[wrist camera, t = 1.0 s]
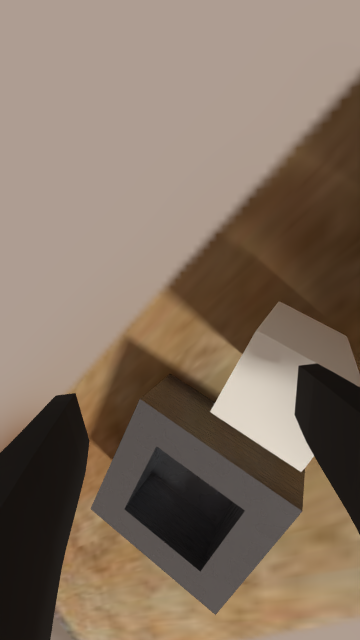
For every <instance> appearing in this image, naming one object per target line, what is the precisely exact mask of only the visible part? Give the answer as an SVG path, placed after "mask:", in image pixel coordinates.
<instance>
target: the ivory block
mask: <svg viewBox="0 0 360 640" xmlns="http://www.w3.org/2000/svg"><path fill="white" fill-rule="evenodd" d="M316 363H317V364H319V365H321V366H323V367H325V368H327V369H329V370H331V371H332V372H334V373H336V374H338V375H339V376H341V377H343V378H345V379H346V380H348V381H350V382H352V383H353V384H355V385H357V386H359V387H360V373H359V370H358V367H357V364H356V361H355V359H354V356H353V353H352V350H351V347H350V344H349V341H348V338H347V336H346V335H344V334H342V333H340V332H338V331H336V330H334V329H332V328H330V327H328V326H326V325H324V324H322V323H321V322H319V321H317V320H315V319H313V318H311V317H309V316H307V315H305V314H303V313H301V312H299V311H297V310H295V309H293V308H292V307H290V306H288V305H286V304H284V303H282V302H280V301H279V302H278V303H277V304H276V305H275V307H274V308H273V309H272V311H271V312H270V313H269V314H268V316H267V317H266V318H265V320H264V321H263V322H262V323H261V325H260V326H259V327H258V329H257V330H256V332H255V333H254V335H253V337H252V339H251V340H250V342H249V344H248V346H247V348H246V349H245V351H244V353H243V355H242V356H241V358H240V360H239V362H238V363H237V365H236V367H235V369H234V370H233V372H232V374H231V376H230V378H229V379H228V381H227V383H226V385H225V386H224V388H223V390H222V392H221V393H220V395H219V397H218V399H217V400H216V402H215V404H214V406H213V408H212V409H211V411H210V412H211V413H212V414H214V415H215V416H217V417H218V418H220V419H221V420H223V421H224V422H226V423H227V424H229V425H230V426H232V427H234V428H235V429H237V430H238V431H240V432H241V433H243V434H244V435H246V436H247V437H249V438H250V439H252V440H253V441H255V442H256V443H258V444H259V445H261V446H262V447H264V448H265V449H267V450H268V451H270V452H271V453H273V454H275V455H276V456H278V457H279V458H281V459H282V460H284V461H285V462H287V463H288V464H290V465H291V466H293V467H294V468H296V469H297V470H299V471H300V472H302V471H303V469H304V468H305V467H306V466H307V464H308V463H309V462H310V460H311V459H312V458H313V457H314V455H313V453H312V451H311V450H310V448H309V446H308V444H307V442H306V440H305V438H304V436H303V434H302V431H301V429H300V427H299V424H298V422H297V420H296V417H295V415H294V414H295V402H296V390H297V378H298V366H300V365H308V364H316Z"/></svg>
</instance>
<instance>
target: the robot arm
mask: <svg viewBox="0 0 360 640" xmlns="http://www.w3.org/2000/svg"><path fill="white" fill-rule="evenodd" d="M294 415H295V417H296V420H297V422H298V424H299V427H300V429H301V431H302V434H303V436H304V438H305V440H306V442H307V444H308V446H309V448H310V450H311V451H312V453H313V455H314V456H315V458H316V460H317V461H318V463H319V465H320V467H321V468H322V470H323V472H324V473H325V475H326V477H327V478H328V480H329V482H330V483H331V485H332V487H333V488H334V490H335V492H336V493H337V495H338V497H339V498H340V500H341V502H342V503H343V505H344V507H345V508H346V510H347V512H348V513H349V515H350V517H351V519H352V521H353V523H354V524H355V526H356V528H357V530H358V532H359V534H360V387H359V386H357V385H355V384H353V383H352V382H350V381H348V380H346V379H345V378H343V377H341V376H339V375H338V374H336V373H334V372H332V371H331V370H329V369H327V368H325V367H323V366H321V365H319V364H317V363H316V364H308V365H300V366H298V378H297V390H296V402H295V414H294ZM88 448H89V438H88V435H87V431H86V428H85V424H84V421H83V418H82V414H81V411H80V407H79V404H78V400H77V397H76V394H75V393H74V394H65V395H58V396H55V397H54V398H53V399H52V400H51V401H50V402H49V403H48V404H47V405H46V406H45V407H44V409H43V410H42V411H41V412H40V413H39V414H38V415H37V416H36V417H35V418H34V419H33V420H32V421H31V422H30V423H29V424H28V425H27V426H26V428H25V429H23V430H22V432H21V433H20V434H19V435H18V436H17V437H16V438H15V439H14V440H13V441H12V442H11V443H10V444H9V445H8V446H7V447H6V448H5V449H4V450H3V451H2V452H1V453H0V640H50V637H51V631H52V624H53V617H54V611H55V605H56V599H57V593H58V587H59V581H60V575H61V569H62V564H63V560H64V555H65V551H66V547H67V543H68V539H69V535H70V531H71V527H72V523H73V520H74V516H75V512H76V508H77V504H78V500H79V496H80V492H81V488H82V484H83V480H84V476H85V471H86V464H87V457H88Z"/></svg>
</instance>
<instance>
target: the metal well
mask: <svg viewBox="0 0 360 640" xmlns="http://www.w3.org/2000/svg"><path fill="white" fill-rule="evenodd" d="M214 404H215V403H214V402H213V401H211V400H210V399H208V398H207V397H205V396H204V395H202V394H201V393H199V392H197V391H196V390H194V389H193V388H191V387H190V386H188V385H187V384H185V383H184V382H182V381H180V380H179V379H177V378H176V377H174V376H173V375H171V374H169V375H168V376H167V377H166V378H164V379H163V380H162V381H161V382H160V383H158V384H157V385H156V386H155V387H154V388H153V389H151V390H150V391H149V392H148V393H147V394H145V395H144V396H143V397H142V398H141V399H140V400H139V402H138V404H137V407H136V409H135V411H134V413H133V416H132V418H131V420H130V422H129V424H128V427H127V429H126V431H125V433H124V436H123V438H122V440H121V442H120V445H119V447H118V449H117V451H116V453H115V456H114V458H113V460H112V462H111V465H110V467H109V469H108V471H107V473H106V476H105V478H104V480H103V482H102V485H101V487H100V489H99V491H98V493H97V496H96V498H95V500H94V502H93V505H92V507H91V510H93V511H94V512H95V513H96V514H97V515H98V516H100V517H101V518H102V519H103V520H104V521H106V522H107V523H108V524H109V525H110V526H111V527H113V528H114V529H115V530H116V531H117V532H119V533H120V534H121V535H122V536H123V537H124V538H126V539H127V540H128V541H129V542H130V543H131V544H133V545H134V546H135V547H136V548H137V549H139V550H140V551H141V552H142V553H143V554H144V555H146V556H147V557H148V558H149V559H150V560H151V561H153V562H154V563H155V564H156V565H157V566H159V567H160V568H161V569H162V570H163V571H164V572H166V573H167V574H168V575H169V576H170V577H172V578H173V579H174V580H175V581H176V582H177V583H179V584H180V585H181V586H182V587H183V588H184V589H186V590H187V591H188V592H189V593H190V594H192V595H193V596H194V597H195V598H196V599H197V600H199V601H200V602H201V603H202V604H203V605H205V606H206V607H207V608H208V609H209V610H210V611H212V612H213V613H214V614H215V615H216V614H217V612H218V611H219V610H220V609H221V608H222V607H223V605H224V604H225V603H226V602H227V601H228V599H229V598H230V597H231V596H232V595H233V593H234V592H235V591H236V590H237V589H238V587H239V586H240V585H241V584H242V583H243V581H244V580H245V579H246V578H247V577H248V576H249V574H250V573H251V572H252V571H253V570H254V568H255V567H256V566H257V565H258V564H259V562H260V561H261V560H262V559H263V558H264V556H265V555H266V554H267V553H268V552H269V550H270V549H271V548H272V547H273V546H274V544H275V543H276V542H277V541H278V540H279V539H280V537H281V536H282V535H283V534H284V533H285V531H286V530H287V529H288V528H289V527H290V525H291V524H292V523H293V522H294V521H295V519H296V518H297V517H298V516H299V515H300V513H301V512H302V507H303V491H304V474H305V468H304V469H303V471H302V472H300V471H299V470H297V469H296V468H294V467H293V466H291V465H290V464H288V463H287V462H285V461H284V460H282V459H281V458H279V457H278V456H276V455H275V454H273V453H271V452H270V451H268V450H267V449H265V448H264V447H262V446H261V445H259V444H258V443H256V442H255V441H253V440H252V439H250V438H249V437H247V436H246V435H244V434H243V433H241V432H240V431H238V430H237V429H235V428H234V427H232V426H230V425H229V424H227V423H226V422H224V421H223V420H221V419H220V418H218V417H217V416H215V415H214V414H212V413H211V412H210V411H211V409H212V408H213V406H214Z"/></svg>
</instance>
